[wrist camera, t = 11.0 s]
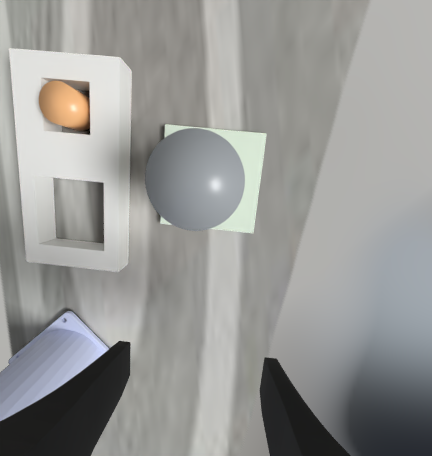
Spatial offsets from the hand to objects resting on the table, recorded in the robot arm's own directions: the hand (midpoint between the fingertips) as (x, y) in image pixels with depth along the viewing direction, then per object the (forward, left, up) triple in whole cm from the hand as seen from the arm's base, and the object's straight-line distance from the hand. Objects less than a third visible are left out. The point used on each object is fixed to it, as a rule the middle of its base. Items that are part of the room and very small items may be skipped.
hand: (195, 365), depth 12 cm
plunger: (+2, +18, -9) cm, 20 cm away
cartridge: (+6, +7, -9) cm, 13 cm away
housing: (-2, +15, -9) cm, 18 cm away
